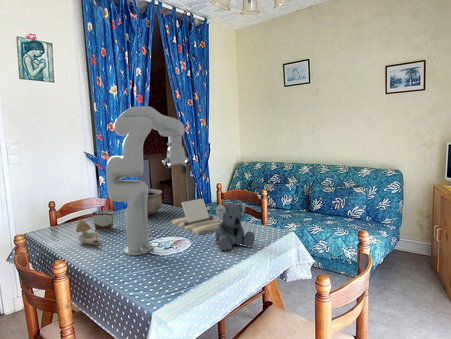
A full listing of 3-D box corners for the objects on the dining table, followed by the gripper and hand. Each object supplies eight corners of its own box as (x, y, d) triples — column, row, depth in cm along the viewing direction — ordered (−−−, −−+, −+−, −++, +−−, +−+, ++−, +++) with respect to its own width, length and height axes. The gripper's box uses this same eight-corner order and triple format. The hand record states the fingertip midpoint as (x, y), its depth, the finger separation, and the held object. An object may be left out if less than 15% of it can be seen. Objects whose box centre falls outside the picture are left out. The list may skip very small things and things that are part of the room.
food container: (119, 226, 177) (118, 209, 176) (114, 230, 171) (113, 212, 170) (98, 226, 178) (97, 209, 177) (92, 230, 172) (91, 212, 171)
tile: (208, 219, 182) (209, 218, 181) (188, 224, 173) (189, 223, 172) (201, 199, 185) (202, 198, 184) (181, 203, 177) (182, 202, 176)
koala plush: (221, 253, 134) (219, 209, 132) (207, 240, 151) (206, 200, 148) (257, 247, 141) (256, 204, 138) (240, 235, 157) (239, 197, 155)
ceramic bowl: (153, 208, 217) (152, 187, 215) (169, 214, 201) (168, 191, 199) (122, 214, 203) (120, 192, 202) (136, 221, 187) (135, 196, 185)
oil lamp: (90, 235, 163) (88, 217, 162) (106, 246, 147) (105, 225, 146) (72, 240, 157) (71, 220, 156) (87, 251, 141) (85, 229, 140)
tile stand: (229, 226, 172) (229, 218, 171) (199, 234, 160) (198, 226, 159) (198, 216, 195) (198, 209, 195) (170, 222, 183) (170, 215, 182)
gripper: (165, 145, 174) (166, 176, 177) (191, 144, 185) (192, 172, 187) (158, 145, 180) (160, 174, 182) (184, 143, 191) (185, 171, 193)
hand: (176, 173), depth 185 cm, fingers open, 9 cm apart
